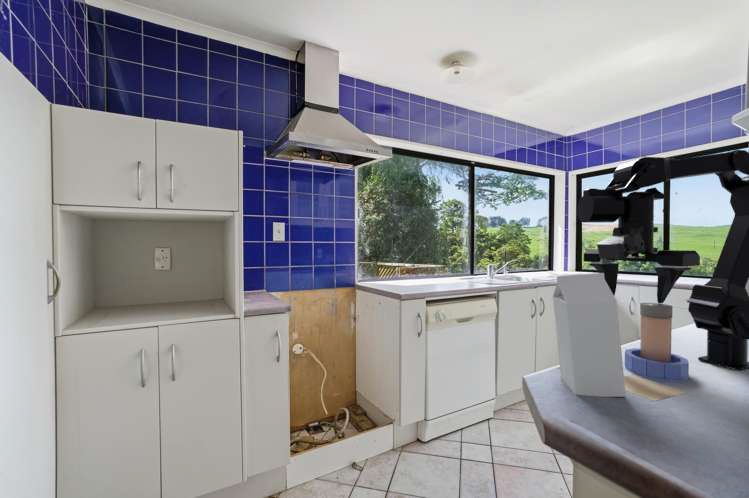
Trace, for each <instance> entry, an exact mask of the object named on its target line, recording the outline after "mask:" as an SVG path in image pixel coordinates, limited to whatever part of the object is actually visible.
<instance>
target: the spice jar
mask: <svg viewBox="0 0 749 498" xmlns="http://www.w3.org/2000/svg"><path fill="white" fill-rule="evenodd" d="M639 314H640V343H639V344H640V348H639V349H640V358H644V359H647V360H652V361H658V362H668V363H671V353H672V319H673V305H669V304H667V303H666V304H665V303H658V302H656V303H655V302H640V303H639Z"/></svg>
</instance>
